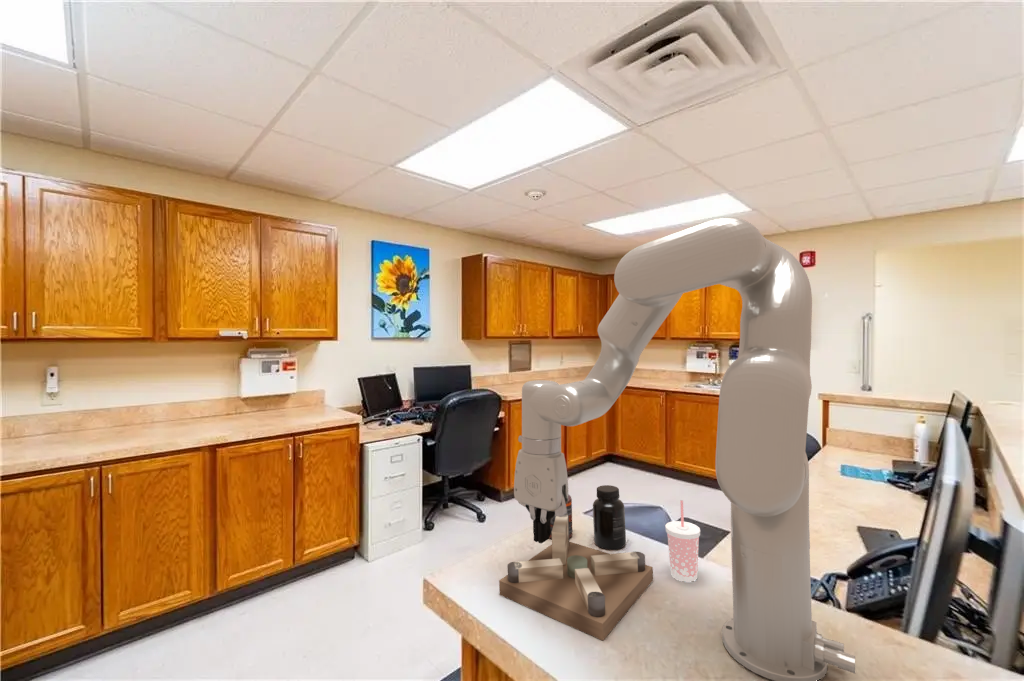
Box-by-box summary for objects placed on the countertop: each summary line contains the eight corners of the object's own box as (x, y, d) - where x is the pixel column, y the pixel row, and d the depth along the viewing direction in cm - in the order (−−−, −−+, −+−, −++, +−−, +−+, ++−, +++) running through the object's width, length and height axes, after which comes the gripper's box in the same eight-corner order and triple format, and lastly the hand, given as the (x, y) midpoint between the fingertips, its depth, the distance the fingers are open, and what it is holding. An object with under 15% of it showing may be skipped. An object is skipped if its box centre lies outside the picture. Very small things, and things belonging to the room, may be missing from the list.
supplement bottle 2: (623, 536, 98) (621, 483, 98) (628, 551, 91) (626, 493, 91) (592, 536, 99) (591, 483, 99) (595, 550, 92) (593, 493, 92)
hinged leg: (557, 540, 91) (556, 511, 91) (569, 541, 90) (569, 512, 90) (552, 563, 81) (551, 531, 81) (565, 564, 81) (565, 532, 81)
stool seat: (653, 580, 80) (652, 553, 80) (603, 640, 64) (602, 607, 64) (560, 550, 92) (559, 527, 92) (499, 594, 77) (498, 566, 77)
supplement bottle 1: (571, 542, 96) (569, 491, 96) (544, 540, 97) (543, 489, 97) (573, 530, 102) (572, 482, 102) (548, 529, 103) (547, 481, 103)
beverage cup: (692, 588, 77) (689, 509, 77) (660, 575, 81) (658, 500, 81) (707, 575, 81) (705, 500, 81) (676, 563, 85) (674, 492, 86)
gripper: (499, 443, 85) (499, 536, 86) (564, 455, 76) (564, 560, 76) (522, 436, 91) (522, 523, 91) (585, 447, 82) (585, 544, 82)
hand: (541, 539), depth 84 cm, fingers closed
